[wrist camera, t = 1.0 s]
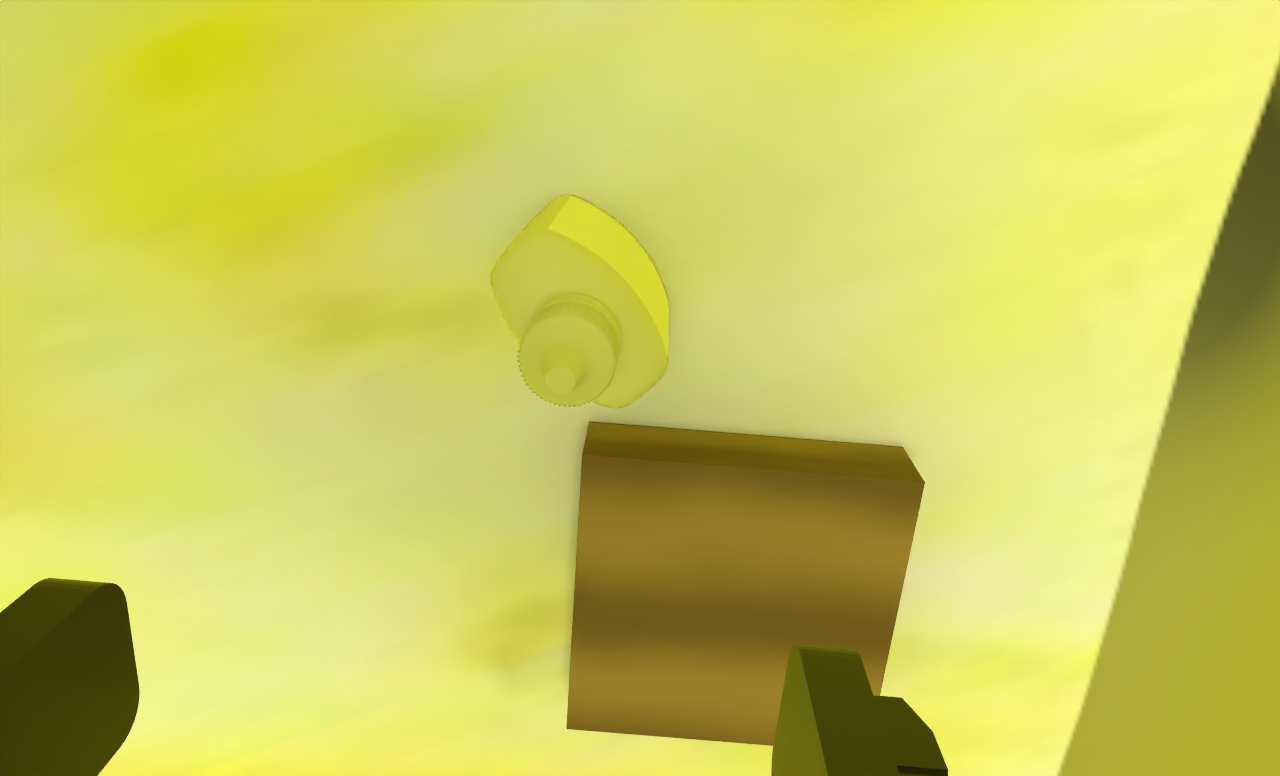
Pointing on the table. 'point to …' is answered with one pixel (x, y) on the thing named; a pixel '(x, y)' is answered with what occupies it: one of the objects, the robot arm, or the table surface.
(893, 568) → the walnut plinth
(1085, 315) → the table surface
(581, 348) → the squeeze bottle
